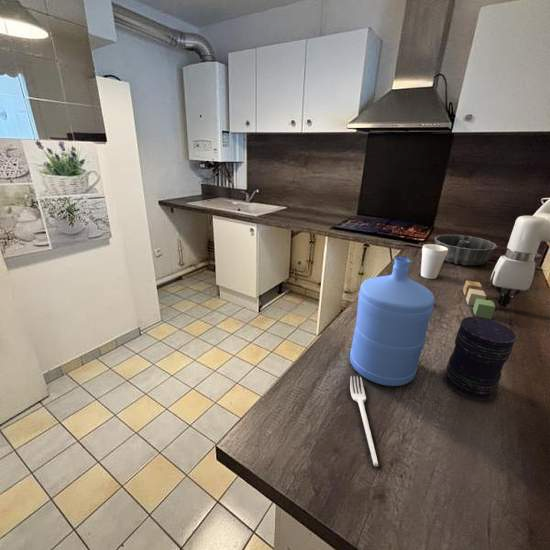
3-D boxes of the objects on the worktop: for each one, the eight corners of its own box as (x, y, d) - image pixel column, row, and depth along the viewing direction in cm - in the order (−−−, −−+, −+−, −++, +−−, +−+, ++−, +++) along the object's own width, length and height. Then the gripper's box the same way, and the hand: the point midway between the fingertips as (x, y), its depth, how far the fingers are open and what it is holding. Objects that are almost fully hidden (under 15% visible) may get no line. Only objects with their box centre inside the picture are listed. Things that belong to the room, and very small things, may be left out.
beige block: (480, 301, 105) (483, 290, 103) (482, 307, 101) (486, 295, 99) (465, 299, 107) (469, 288, 105) (467, 304, 103) (471, 293, 101)
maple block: (476, 293, 112) (479, 282, 110) (478, 297, 108) (482, 286, 106) (462, 290, 113) (465, 280, 112) (464, 295, 110) (467, 284, 108)
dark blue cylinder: (505, 394, 64) (529, 338, 58) (470, 404, 61) (492, 346, 56) (466, 365, 73) (483, 313, 67) (434, 372, 70) (449, 319, 64)
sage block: (488, 312, 98) (492, 300, 96) (491, 319, 94) (495, 306, 92) (472, 309, 99) (476, 298, 98) (474, 315, 96) (478, 303, 94)
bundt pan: (435, 266, 138) (440, 245, 134) (426, 249, 162) (430, 232, 158) (499, 273, 131) (507, 252, 128) (480, 255, 155) (486, 236, 151)
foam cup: (442, 281, 121) (449, 252, 116) (417, 278, 124) (424, 249, 119) (438, 273, 129) (445, 245, 124) (416, 270, 132) (422, 243, 127)
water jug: (429, 384, 67) (462, 271, 56) (365, 391, 64) (387, 275, 53) (393, 343, 81) (414, 247, 70) (340, 348, 78) (352, 249, 68)
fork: (366, 466, 49) (367, 459, 48) (347, 381, 68) (348, 375, 67) (385, 468, 49) (387, 461, 48) (361, 382, 67) (363, 376, 67)
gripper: (544, 254, 94) (525, 304, 101) (489, 248, 99) (474, 296, 107) (553, 262, 88) (532, 315, 95) (494, 255, 93) (478, 305, 100)
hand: (501, 305), depth 101 cm, fingers closed
